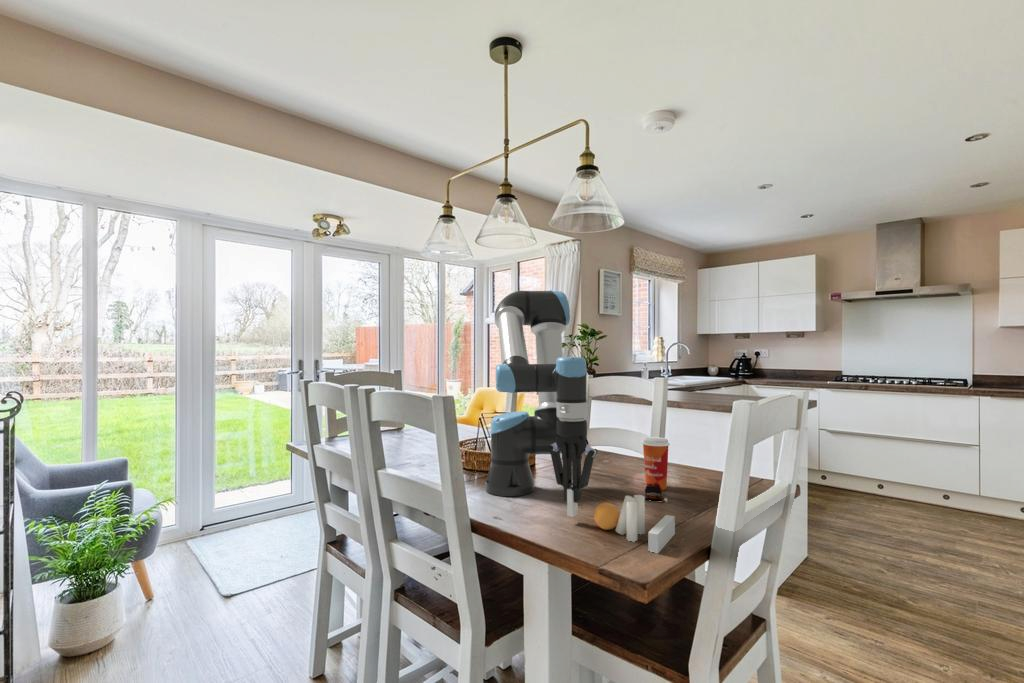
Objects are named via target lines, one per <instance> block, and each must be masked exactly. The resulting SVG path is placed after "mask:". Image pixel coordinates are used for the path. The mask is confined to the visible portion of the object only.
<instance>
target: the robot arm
mask: <svg viewBox="0 0 1024 683" xmlns="http://www.w3.org/2000/svg"><path fill="white" fill-rule="evenodd" d="M570 312H571V310H570V304H569V299H568V297H567V296H566V294H565V293H564V291H560V290H558V291H557V290H551V289H550V290H518V291H514V292H510V293H509V294H508V295H506V296H505V297H504V298H502V299H501V301H499V303H498V305H497V306H496V309H495V311H494V323H495V326H496V327H497V329H498V336H499V345H500V346H499V348H500V360H501V364H500V363H499V364H497V365H496V367H495V389H496V391H498V392H499V393H509V394H513V393H514V394H515V393H537V394H538V405H537V407H536V408H535V409H534V410H533V411H534V412H533V413H534V415H533V416H530V414H529V412H528V411H523V410H522V411H512V412H505V413H500V414H498V415H495V416H493V418H492V419H491V422H490V432H489V433H490V466H489V469H488V473H487V476H486V479H485V483H484V484H485V485H484V487H485V488H484V489H485V492H487V493H488V494H491V495H494V496H501V497H518V496H525V495H529V494H532V493H533V492H534V491H535V480H534V476H533V473H532V471H531V466H530V464H529V459H530V458H529V457H530V455H531V456H532V455H535V456H536V455H537V456H538V455H550V457H551V462H552V466H553V471H554V476H555V481H556V484H557V485H560V486H562V487H563V499H564V501H565V502H566V515H567V516H566V517H570V518H573V517H575V516H576V515H578V514H579V513H578V508H579V507H578V504H579V503H580V502H581V498H582V497H581V492H582V491H581V490H582V489H584V488H585V487H588V486H589V482H590V481H589V480H590V477H591V472H592V466H593V462H594V460H595V459H594V458H595V457H596V455H597V454H598V449H596V448H593V447H592V446H590V444H589V441H588V438H587V435H588V422H587V420H586V418H588V407H587V399H588V398H587V397H588V396H587V389H588V388H587V385H588V384H587V382H588V380H587V375H588V369H587V360H586V358H584V357H583V356H563V340H562V334H563V333H564V331H565V330H566V326H568V325H569V324H570V321H571V320H570V319H571V316H570V315H571V314H570ZM523 326H530V332H531V333H532V334H533V335H535V351H536V352H535V354H536V363H529V358H528V357H529V355H528V352H527V345H526V338H525V332H524V327H523ZM584 452H585V455H586V456H585V458H584V462H583V464H582V460H583V455H584ZM582 465H583V467H582Z"/></svg>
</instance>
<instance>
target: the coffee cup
mask: <svg viewBox="0 0 1024 683" xmlns="http://www.w3.org/2000/svg"><path fill="white" fill-rule="evenodd" d="M641 444H642V447H643V448H642V449H643V451H642V452H643V462H644V463H643V464H644V466H643V467H644V476H645V477H644V478H645V488H646V487H647V484H652V486H654V484H659V485H660V488H661V491H665V490H667V483H668V480H667V479H668V461H669V446H670V442H669V440H668V438H665V437H657V436H649V437H644V438H643V440H642V442H641ZM664 489H665V490H664Z"/></svg>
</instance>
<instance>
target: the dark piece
mask: <svg viewBox="0 0 1024 683" xmlns="http://www.w3.org/2000/svg"><path fill="white" fill-rule="evenodd" d="M644 493H645V495H643V496H644V497H645V500H651V501H663V502H662V503H664V502H666V501H665V500H664V499H665V498H664V496H663V497H662V490H661V488H660V485H659V484H654V486H652V484H647V487H646V486H645V489H644ZM651 494H652V495H651ZM653 494H656V495H653ZM651 501H650V502H651Z"/></svg>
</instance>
